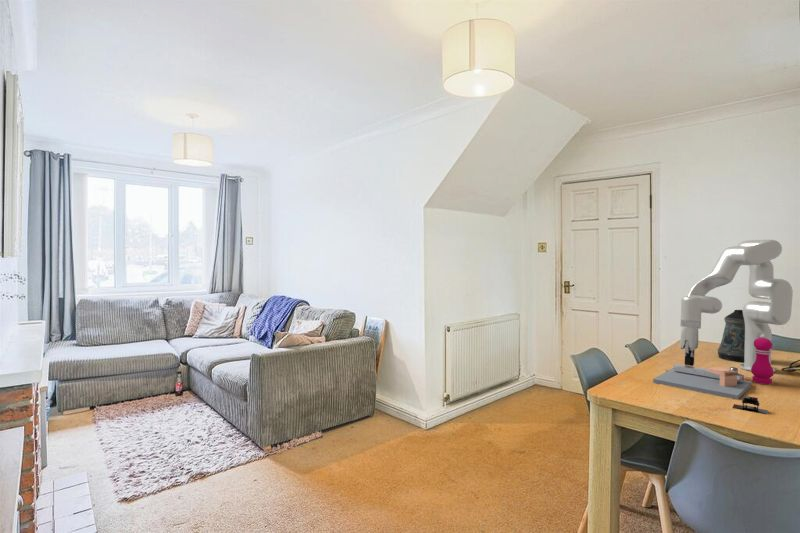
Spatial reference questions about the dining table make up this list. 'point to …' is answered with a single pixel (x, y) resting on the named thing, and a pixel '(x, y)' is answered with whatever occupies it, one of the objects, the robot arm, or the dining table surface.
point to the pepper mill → (762, 361)
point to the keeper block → (725, 376)
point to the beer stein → (733, 338)
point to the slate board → (702, 384)
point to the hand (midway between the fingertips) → (689, 364)
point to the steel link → (704, 371)
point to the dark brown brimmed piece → (749, 408)
